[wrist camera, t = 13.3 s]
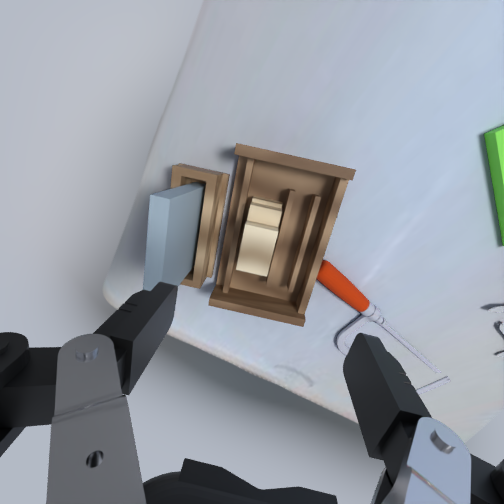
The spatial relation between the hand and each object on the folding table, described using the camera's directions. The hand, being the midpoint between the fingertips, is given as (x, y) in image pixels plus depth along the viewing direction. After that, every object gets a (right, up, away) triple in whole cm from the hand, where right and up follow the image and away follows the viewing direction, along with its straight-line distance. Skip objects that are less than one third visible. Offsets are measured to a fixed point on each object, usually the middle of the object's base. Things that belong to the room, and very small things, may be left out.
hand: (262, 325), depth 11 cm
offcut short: (0, +4, +22) cm, 22 cm away
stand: (-9, +8, +28) cm, 30 cm away
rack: (+3, +6, +27) cm, 28 cm away
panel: (-9, +7, +27) cm, 29 cm away
